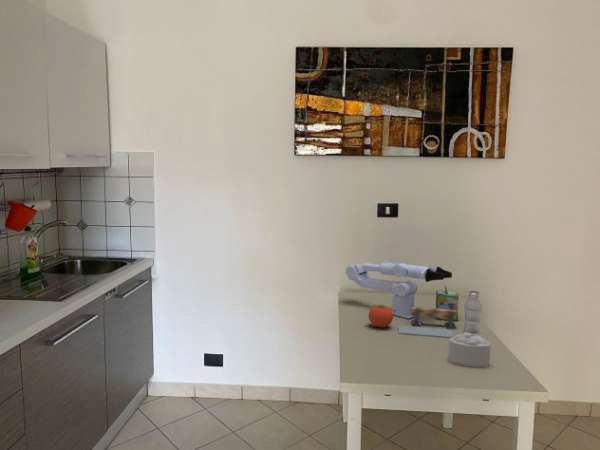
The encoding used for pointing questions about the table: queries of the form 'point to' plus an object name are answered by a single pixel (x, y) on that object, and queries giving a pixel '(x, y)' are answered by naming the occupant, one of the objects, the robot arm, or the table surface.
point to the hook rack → (447, 324)
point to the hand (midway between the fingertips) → (447, 276)
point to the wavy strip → (433, 312)
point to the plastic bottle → (472, 314)
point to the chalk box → (447, 302)
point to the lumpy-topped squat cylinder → (469, 350)
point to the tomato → (380, 315)
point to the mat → (424, 332)
